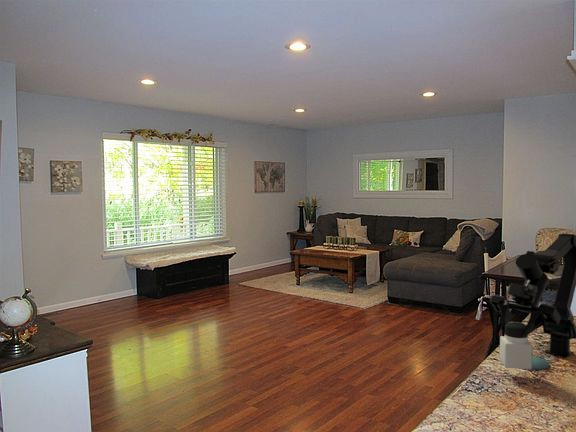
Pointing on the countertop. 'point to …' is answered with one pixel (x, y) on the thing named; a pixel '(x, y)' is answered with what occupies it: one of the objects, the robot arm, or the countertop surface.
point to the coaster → (539, 363)
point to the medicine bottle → (515, 347)
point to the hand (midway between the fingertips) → (512, 333)
